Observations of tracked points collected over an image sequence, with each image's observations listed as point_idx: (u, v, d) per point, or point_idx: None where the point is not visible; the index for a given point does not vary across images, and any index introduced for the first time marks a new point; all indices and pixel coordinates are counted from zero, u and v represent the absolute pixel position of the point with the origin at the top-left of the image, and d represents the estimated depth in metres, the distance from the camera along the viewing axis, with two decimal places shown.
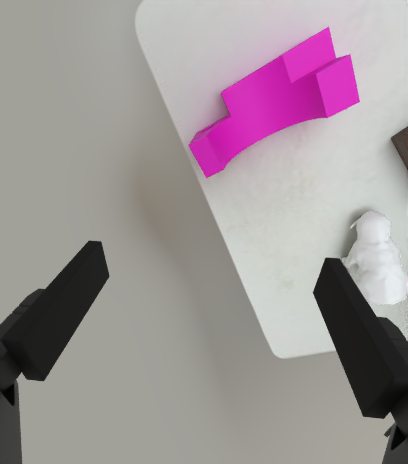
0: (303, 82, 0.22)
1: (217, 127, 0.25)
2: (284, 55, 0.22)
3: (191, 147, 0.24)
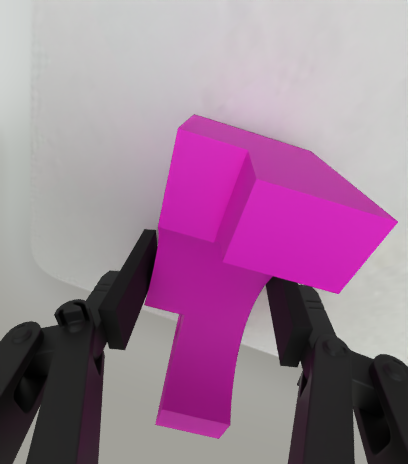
0: None
1: (177, 353, 0.14)
2: (161, 224, 0.10)
3: (161, 424, 0.14)
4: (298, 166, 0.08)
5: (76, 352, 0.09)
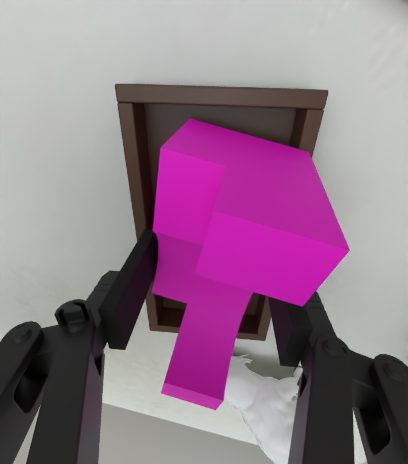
0: None
1: (179, 336, 0.16)
2: (155, 229, 0.11)
3: (166, 393, 0.16)
4: (275, 182, 0.09)
5: (76, 352, 0.09)
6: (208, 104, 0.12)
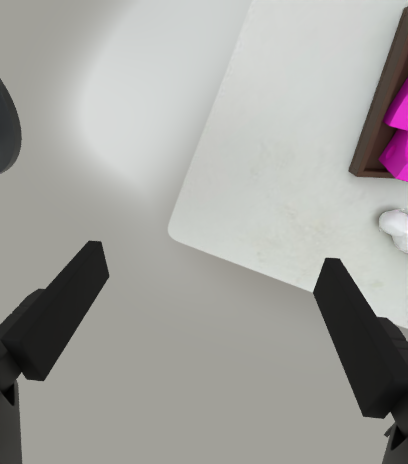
0: None
1: (406, 148, 0.29)
2: None
3: (399, 177, 0.29)
4: None
5: None
6: None
